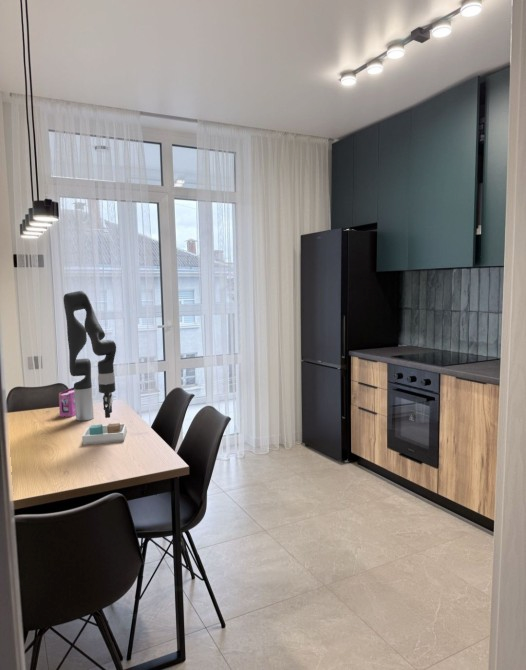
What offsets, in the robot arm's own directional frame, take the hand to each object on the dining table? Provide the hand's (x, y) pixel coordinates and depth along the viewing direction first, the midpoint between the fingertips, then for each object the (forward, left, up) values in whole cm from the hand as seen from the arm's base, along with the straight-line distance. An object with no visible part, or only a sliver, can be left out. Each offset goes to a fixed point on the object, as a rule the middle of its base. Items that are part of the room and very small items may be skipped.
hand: (108, 415), depth 226 cm
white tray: (+4, -2, -10) cm, 11 cm away
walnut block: (+4, +2, -9) cm, 10 cm away
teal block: (+4, -6, -9) cm, 11 cm away
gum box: (-56, -26, -10) cm, 63 cm away
